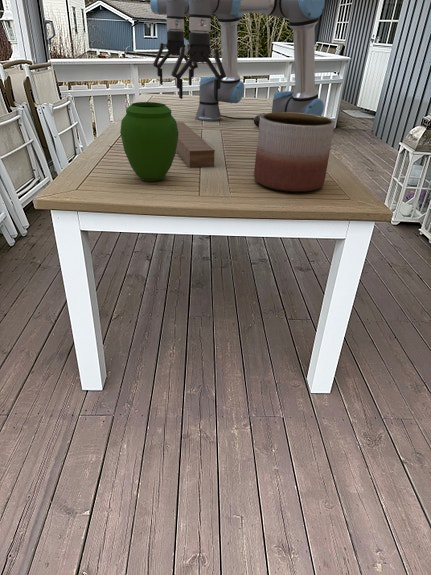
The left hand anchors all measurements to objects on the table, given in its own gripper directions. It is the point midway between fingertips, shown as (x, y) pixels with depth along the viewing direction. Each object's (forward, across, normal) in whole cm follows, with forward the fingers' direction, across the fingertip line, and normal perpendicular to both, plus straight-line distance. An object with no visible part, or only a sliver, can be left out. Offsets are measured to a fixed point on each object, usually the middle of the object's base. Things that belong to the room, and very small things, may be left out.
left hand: (175, 84), depth 189 cm
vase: (+24, -22, -62) cm, 70 cm away
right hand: (0, 0, -42) cm, 42 cm away
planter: (+24, +26, -74) cm, 82 cm away
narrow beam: (+24, 0, -21) cm, 32 cm away
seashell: (+24, +54, +22) cm, 62 cm away
